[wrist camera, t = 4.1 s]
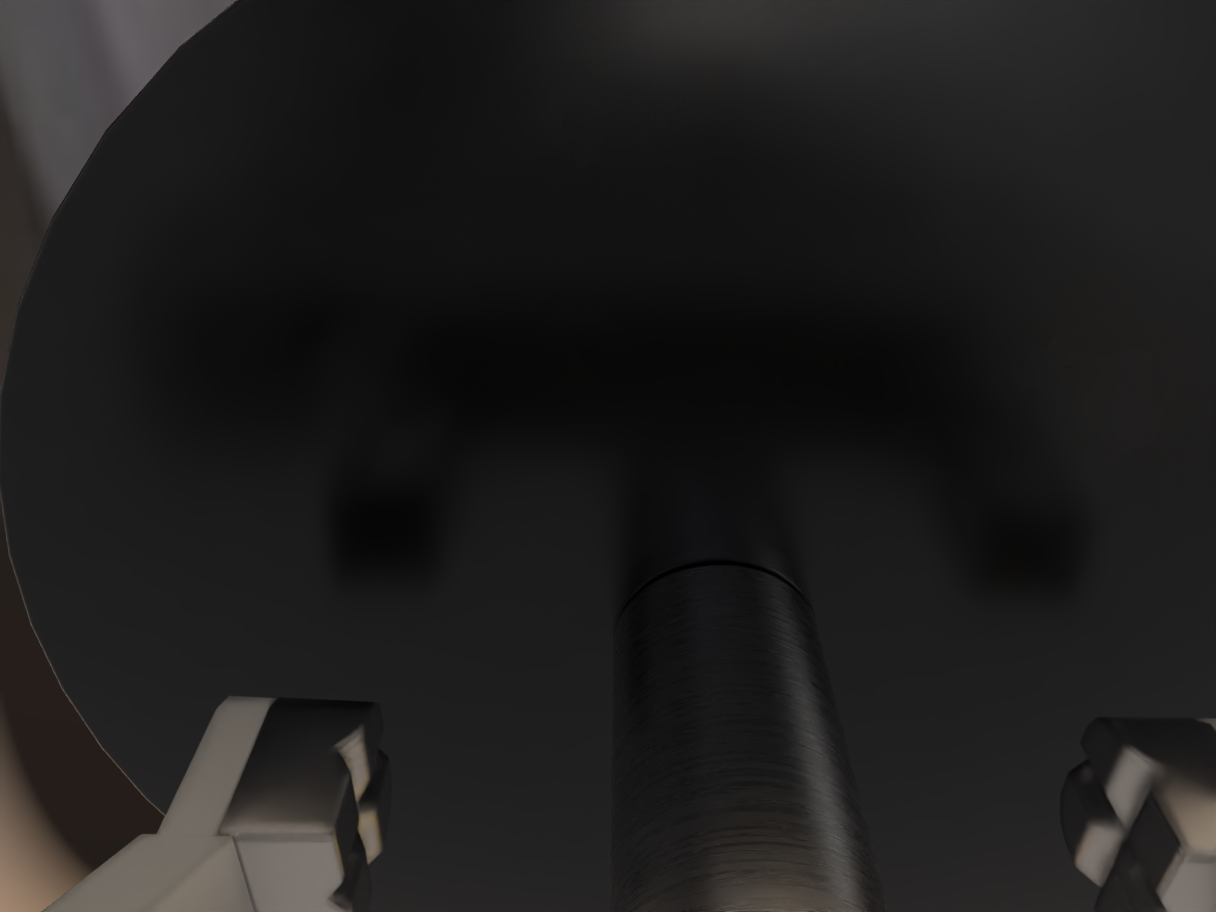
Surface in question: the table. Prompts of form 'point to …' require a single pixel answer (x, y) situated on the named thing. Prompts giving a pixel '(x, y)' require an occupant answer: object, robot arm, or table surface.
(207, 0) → the table surface
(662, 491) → the lid
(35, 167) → the table surface
